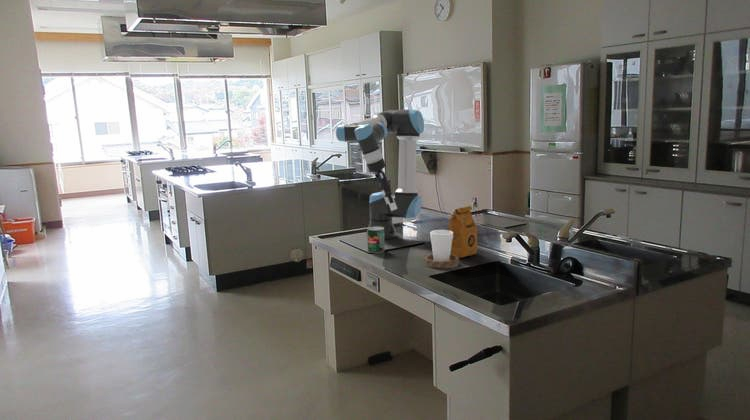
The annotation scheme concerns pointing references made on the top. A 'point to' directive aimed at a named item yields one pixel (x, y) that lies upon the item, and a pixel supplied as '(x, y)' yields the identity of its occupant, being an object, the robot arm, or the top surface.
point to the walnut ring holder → (441, 265)
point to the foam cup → (441, 244)
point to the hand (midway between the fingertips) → (391, 206)
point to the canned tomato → (376, 239)
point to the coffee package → (463, 233)
